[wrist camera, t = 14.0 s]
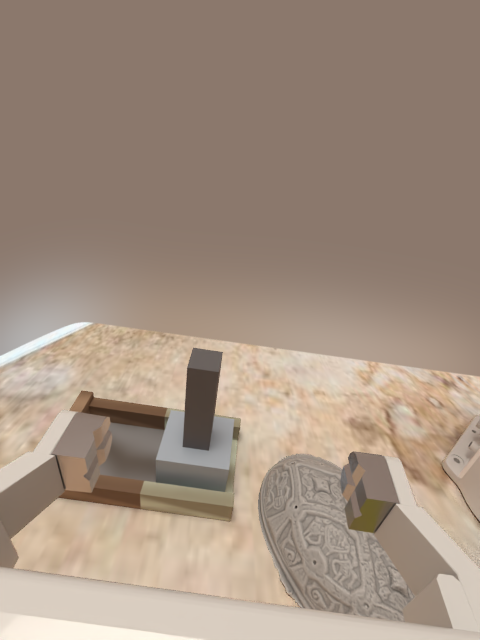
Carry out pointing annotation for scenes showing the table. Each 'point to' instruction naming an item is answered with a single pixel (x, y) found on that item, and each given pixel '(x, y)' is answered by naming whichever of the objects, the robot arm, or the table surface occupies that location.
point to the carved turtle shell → (325, 544)
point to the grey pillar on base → (197, 431)
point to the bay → (147, 464)
